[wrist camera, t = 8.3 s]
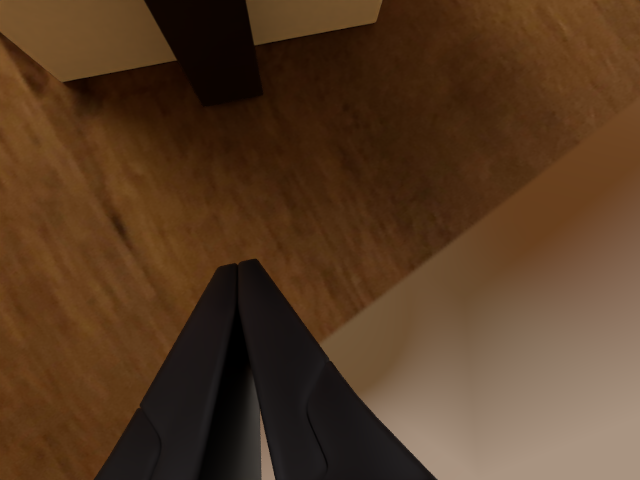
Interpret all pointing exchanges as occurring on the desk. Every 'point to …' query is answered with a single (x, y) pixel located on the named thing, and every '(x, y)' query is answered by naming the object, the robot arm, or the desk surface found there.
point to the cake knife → (211, 46)
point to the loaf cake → (149, 30)
